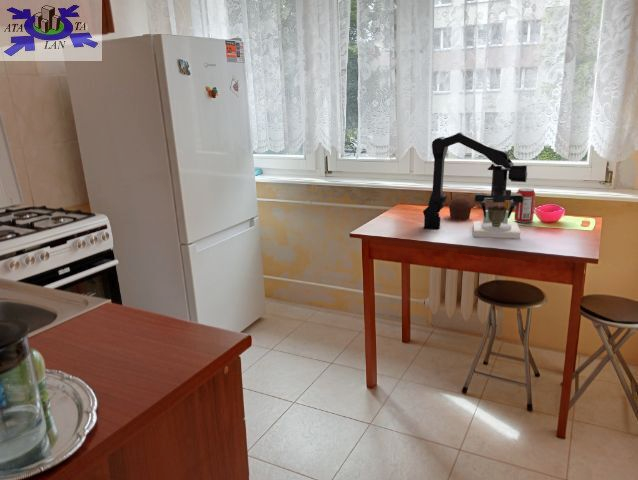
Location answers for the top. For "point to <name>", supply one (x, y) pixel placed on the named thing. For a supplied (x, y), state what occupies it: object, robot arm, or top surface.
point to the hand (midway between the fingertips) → (496, 217)
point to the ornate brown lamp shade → (496, 215)
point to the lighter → (491, 203)
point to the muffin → (460, 208)
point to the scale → (496, 228)
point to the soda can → (525, 206)
